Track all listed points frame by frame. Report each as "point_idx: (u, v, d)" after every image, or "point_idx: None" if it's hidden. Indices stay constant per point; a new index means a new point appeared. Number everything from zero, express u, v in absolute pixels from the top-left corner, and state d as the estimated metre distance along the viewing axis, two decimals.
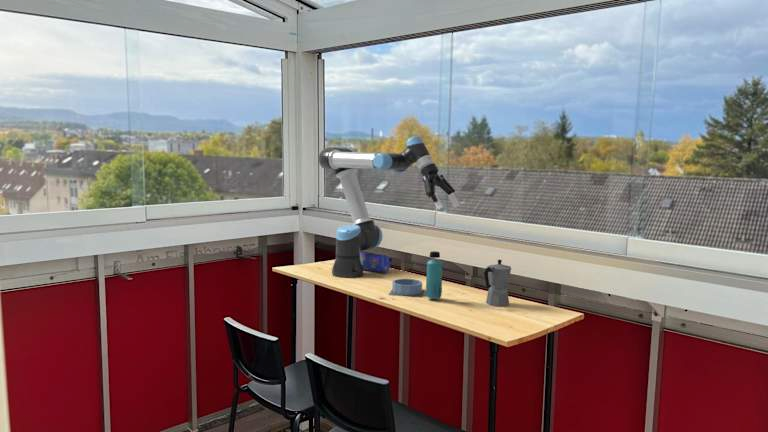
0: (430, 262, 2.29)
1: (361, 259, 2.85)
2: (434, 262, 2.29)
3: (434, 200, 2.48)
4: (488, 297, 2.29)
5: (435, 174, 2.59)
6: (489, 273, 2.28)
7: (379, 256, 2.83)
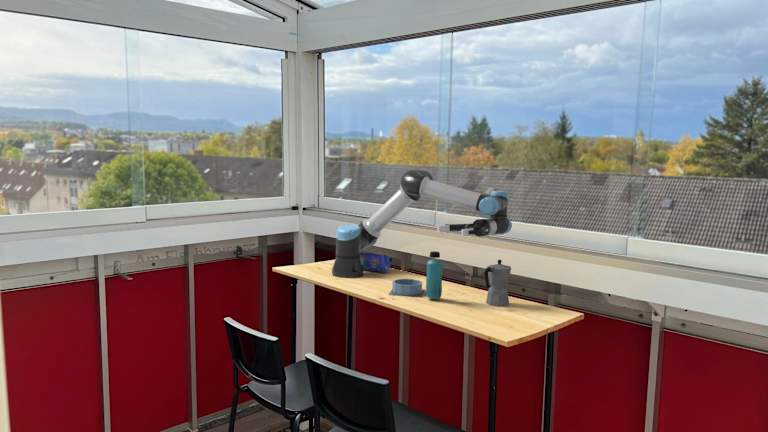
0: (430, 262, 2.29)
1: (361, 259, 2.85)
2: (434, 262, 2.29)
3: (471, 232, 2.32)
4: (488, 297, 2.29)
5: None
6: (489, 273, 2.28)
7: (379, 256, 2.83)
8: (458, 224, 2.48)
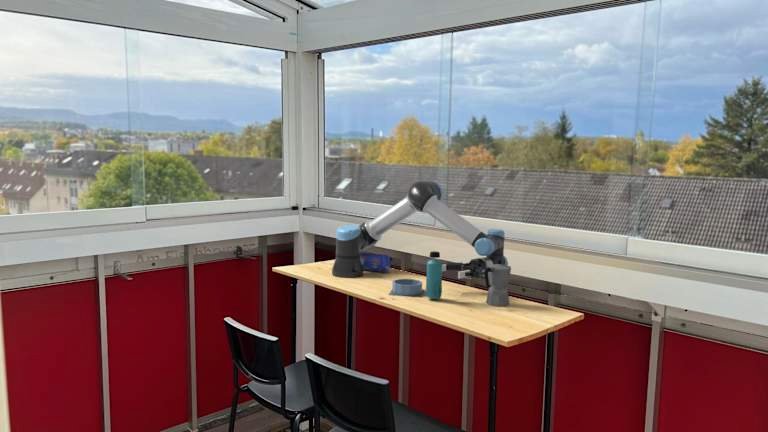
0: (430, 262, 2.29)
1: (361, 259, 2.85)
2: (434, 262, 2.29)
3: (468, 274, 2.32)
4: (488, 297, 2.29)
5: None
6: (489, 273, 2.28)
7: (380, 256, 2.84)
8: (455, 263, 2.49)
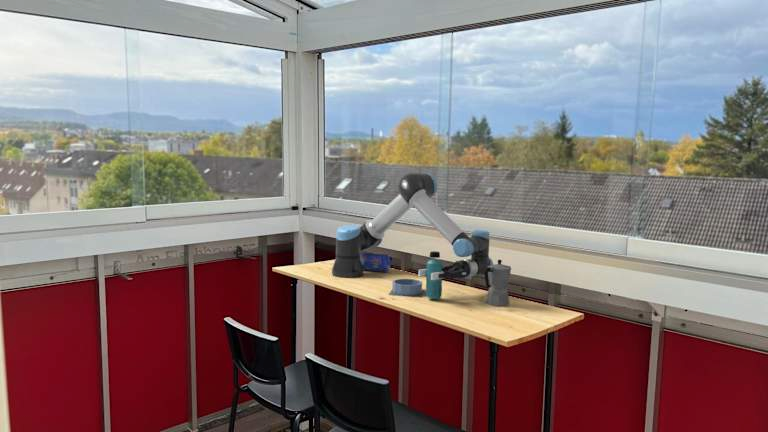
0: (430, 262, 2.29)
1: (362, 259, 2.85)
2: (434, 262, 2.29)
3: (441, 276, 2.27)
4: (488, 297, 2.29)
5: None
6: (489, 273, 2.28)
7: (381, 256, 2.84)
8: None
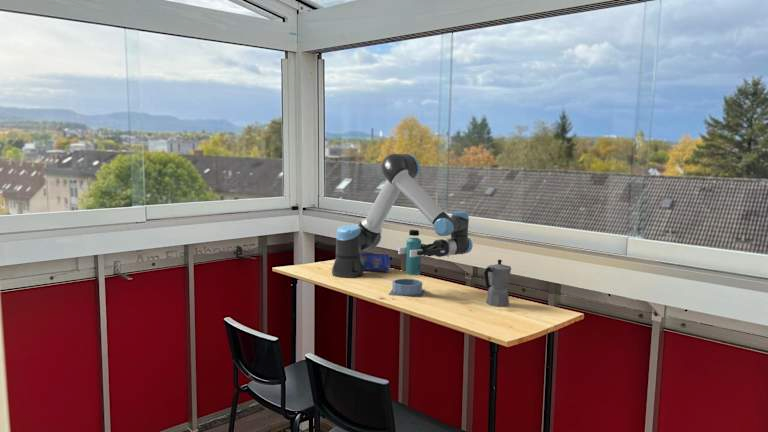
0: (409, 240, 2.37)
1: (362, 259, 2.84)
2: (413, 240, 2.37)
3: (419, 253, 2.35)
4: (488, 297, 2.29)
5: None
6: (489, 273, 2.28)
7: (381, 255, 2.85)
8: None
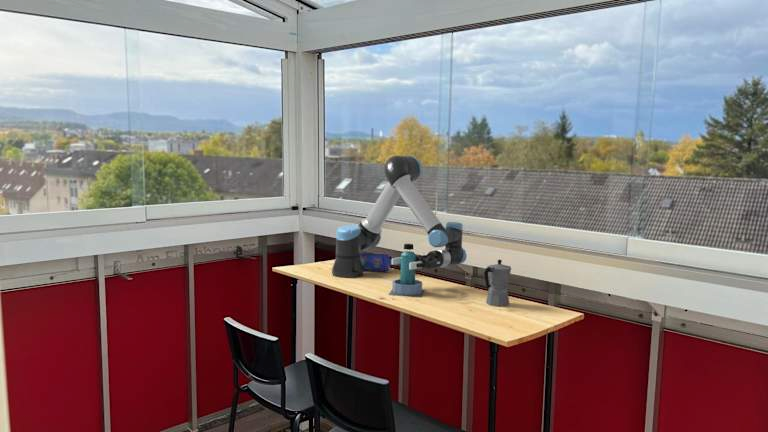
0: (404, 254, 2.40)
1: (362, 259, 2.84)
2: (408, 254, 2.40)
3: (419, 265, 2.37)
4: (488, 297, 2.29)
5: None
6: (489, 273, 2.28)
7: (381, 255, 2.85)
8: None
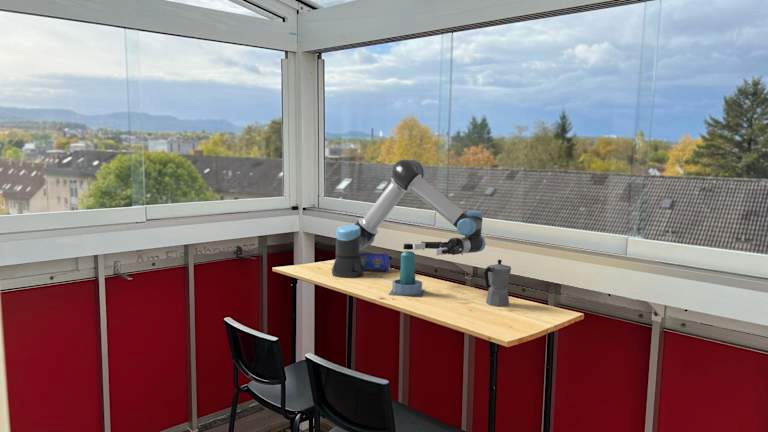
0: (404, 254, 2.40)
1: (363, 260, 2.84)
2: (407, 254, 2.40)
3: (444, 252, 2.44)
4: (488, 297, 2.29)
5: None
6: (489, 273, 2.28)
7: (381, 255, 2.85)
8: (434, 242, 2.60)
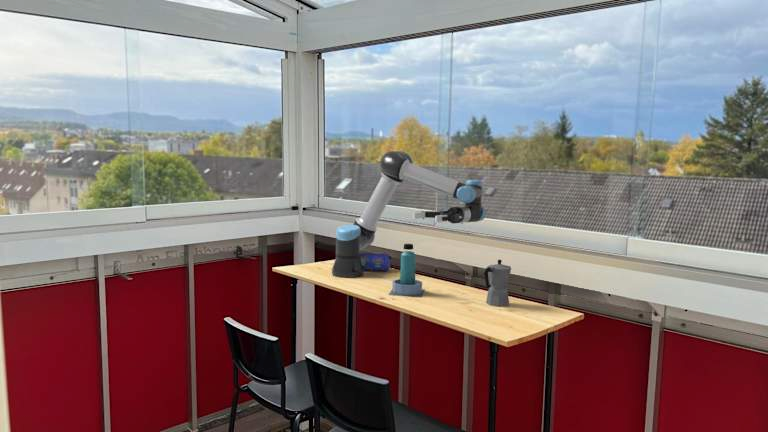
0: (404, 254, 2.40)
1: (363, 260, 2.84)
2: (407, 254, 2.40)
3: (445, 218, 2.42)
4: (488, 297, 2.29)
5: None
6: (489, 273, 2.28)
7: (381, 255, 2.86)
8: (434, 211, 2.59)
